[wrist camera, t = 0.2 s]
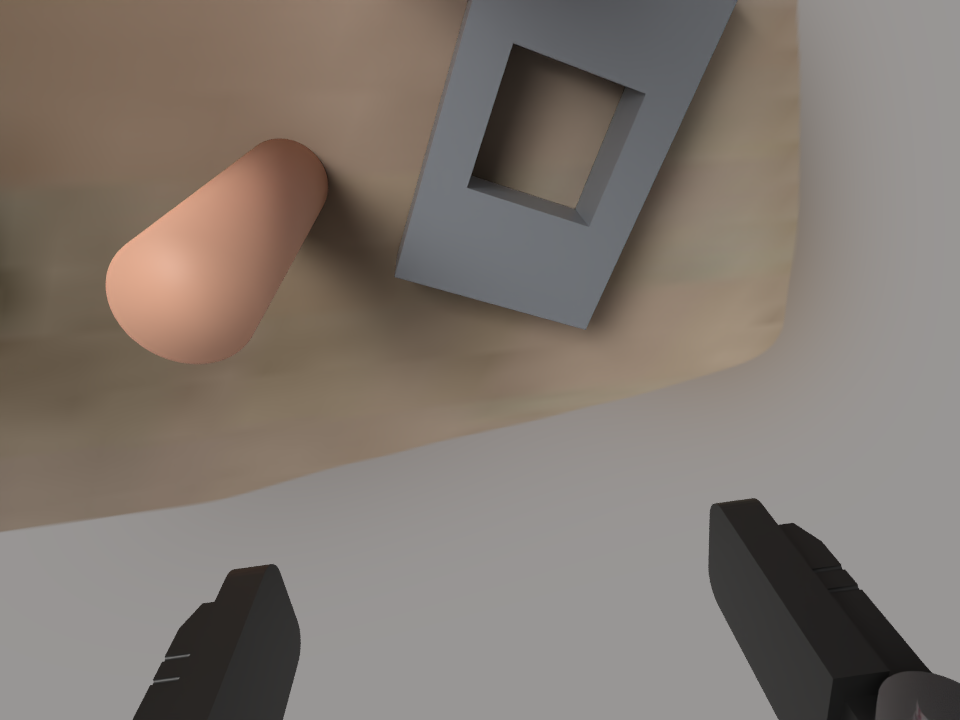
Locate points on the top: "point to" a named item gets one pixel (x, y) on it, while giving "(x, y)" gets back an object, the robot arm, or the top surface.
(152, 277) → the dowel
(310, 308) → the top surface
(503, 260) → the socket block
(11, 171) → the top surface
